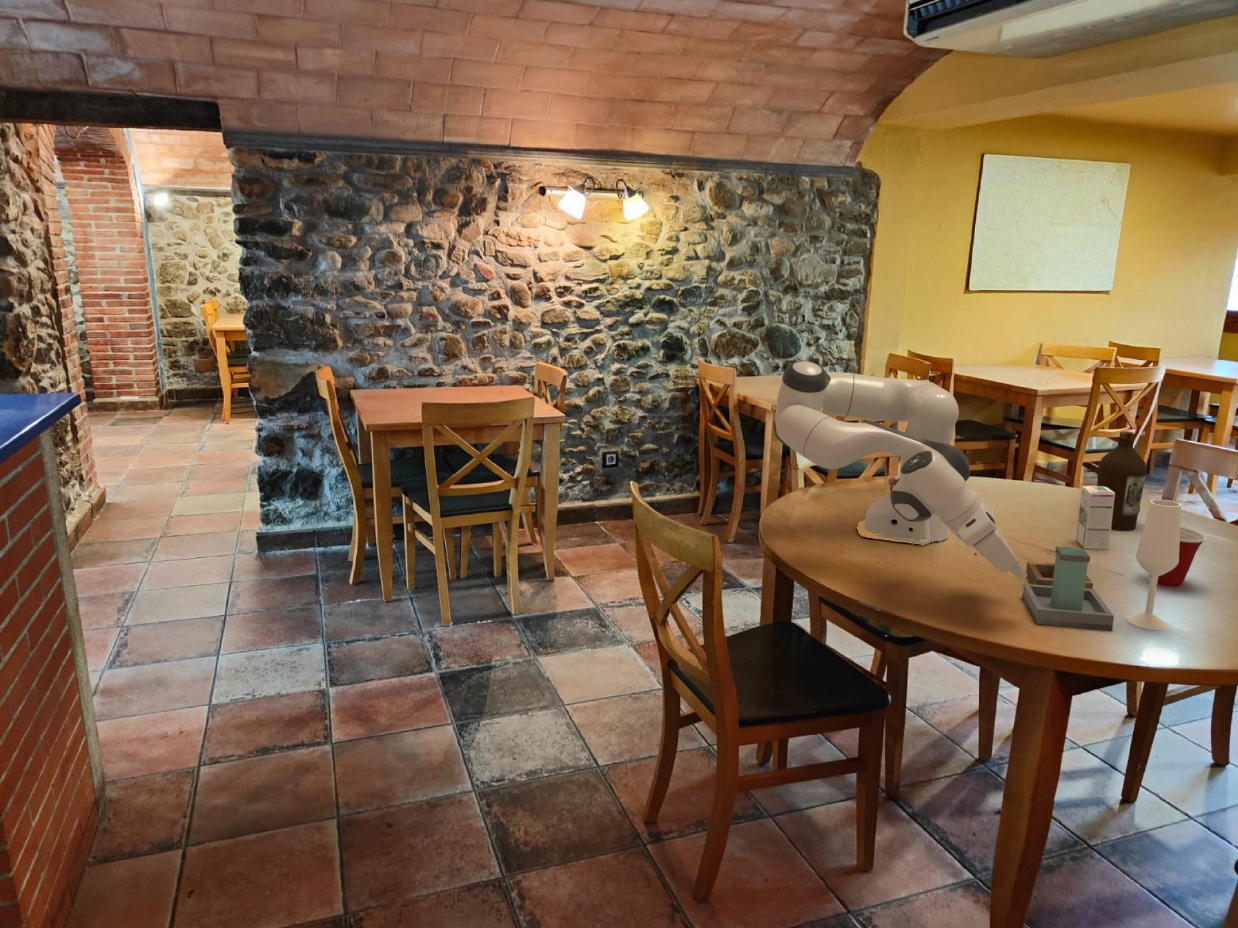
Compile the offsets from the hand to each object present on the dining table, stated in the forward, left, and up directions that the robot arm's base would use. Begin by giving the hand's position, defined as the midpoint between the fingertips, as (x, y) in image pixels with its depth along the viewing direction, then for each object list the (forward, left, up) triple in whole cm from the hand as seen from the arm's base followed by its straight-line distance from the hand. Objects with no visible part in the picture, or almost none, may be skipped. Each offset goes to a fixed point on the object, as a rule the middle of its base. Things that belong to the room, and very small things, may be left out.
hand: (1018, 568), depth 157 cm
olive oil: (+35, +62, -9) cm, 72 cm away
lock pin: (+9, 0, -8) cm, 12 cm away
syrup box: (+25, +44, -9) cm, 52 cm away
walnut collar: (+11, +15, -9) cm, 21 cm away
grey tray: (+9, 0, -9) cm, 13 cm away
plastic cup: (+34, +22, -9) cm, 42 cm away
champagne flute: (+23, -1, -9) cm, 25 cm away
